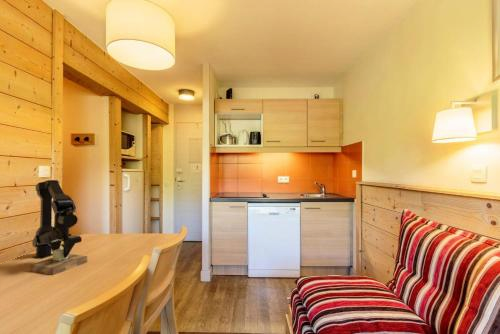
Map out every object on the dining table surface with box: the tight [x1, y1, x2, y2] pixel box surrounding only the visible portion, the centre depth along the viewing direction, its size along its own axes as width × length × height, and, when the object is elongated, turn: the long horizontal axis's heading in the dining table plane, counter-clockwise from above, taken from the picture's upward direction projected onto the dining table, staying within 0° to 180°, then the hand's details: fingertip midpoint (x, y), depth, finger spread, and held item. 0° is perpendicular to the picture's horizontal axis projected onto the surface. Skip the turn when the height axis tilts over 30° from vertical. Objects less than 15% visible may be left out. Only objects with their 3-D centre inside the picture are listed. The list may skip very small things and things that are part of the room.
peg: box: [52, 247, 68, 263], centre depth 114 cm, size 4×4×8 cm
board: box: [30, 253, 88, 276], centre depth 113 cm, size 14×16×3 cm
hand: (60, 256), depth 114 cm, fingers open, 6 cm apart
